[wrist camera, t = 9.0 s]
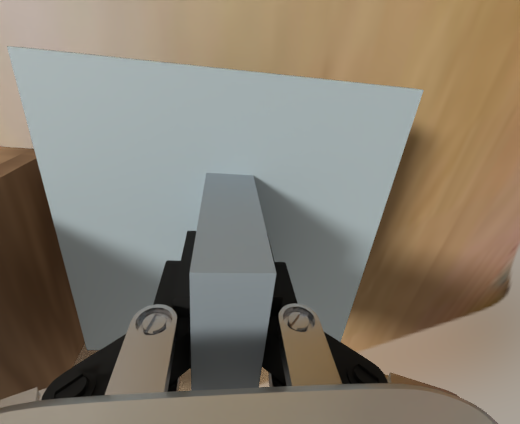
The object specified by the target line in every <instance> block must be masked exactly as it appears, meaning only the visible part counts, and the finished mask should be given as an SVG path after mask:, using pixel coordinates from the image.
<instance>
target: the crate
mask: <svg viewBox="0 0 520 424" xmlns="http://www.w3.org/2000/svg"><path fill="white" fill-rule="evenodd" d="M84 343H85V341H84V337H83V333H82V329H81V326H80V322H79V318H78V314H77V310H76V307H75V303H74V299H73V295H72V291H71V288H70V284H69V280H68V276H67V272H66V269H65V265H64V261H63V257H62V253H61V250H60V246H59V242H58V238H57V234H56V230H55V227H54V223H53V219H52V215H51V211H50V208H49V204H48V200H47V196H46V192H45V189H44V185H43V181H42V177H41V173H40V170H39V166H38V162H37V158H36V154H35V151H34V149H26V148H10V147H0V400H1V399H4V398H7V397H10V396H13V395H16V394H19V393H22V392H25V391H27V390H30V389H33V388H36V387H37V388H38V390H42V389H45V388H47V387H48V386H49V385H50V384H51V383H52V382H53V380H55V379H56V378H57V377H59V376H60V375H61V374H63V373H64V372H66V371H67V370H69V369H71V368H72V367H73V365H74V363H75V361H76V359H77V357H78V355H79V353H80V351H81V349H82V347H83V345H84Z"/></svg>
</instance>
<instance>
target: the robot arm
mask: <svg viewBox="0 0 520 424" xmlns="http://www.w3.org/2000/svg"><path fill="white" fill-rule="evenodd" d="M267 236H268V233H267ZM195 237H196V231H187V234H186V239H185V243H184V248H183V253H182V257H181V261H174V260H167V261H166V263H165V266H164V270H163V273H162V276H161V280H160V283H159V287H158V290H157V293H156V297H155V300H154V303H153V305H150V306H147V307H144V308H143V309H141V310H139V311H138V312H137V313H136V314H135V315H134V316H133V318H132V320H131V322H130V325H129V327H128V330H127V333H126V334H125V335H123V336H122V337H120V338H118V339H117V340H115V341H114V342H112V343H110V344H109V345H107V346H106V347H104V348H102V349H101V350H99V351H98V352H96V353H95V354H93V355H91V356H90V357H88V358H87V359H85V360H83V361H82V362H80V363H79V364H77V365H75V366H74V367H72V368H71V369H69V370H67V371H66V372H64V373H63V374H61V375H60V376H59V377H57V378H56V379H55V380H53V382H52V383H51V384H50V385H49V386H48V387H47V388H45V389H42V390H38V388H37V387H36V388H33V389H30V390H27V391H25V392H22V393H19V394H16V395H13V396H10V397H7V398H4V399H1V400H0V424H498V423H497V422H496V421H495V420H494V419H493V418H492V417H491V416H489V415H488V414H487V413H486V412H485V411H483V410H482V409H480V408H479V407H477V406H476V405H474V404H472V403H470V402H468V401H466V400H464V399H462V398H460V397H459V396H457V395H456V394H454V393H452V392H449V391H447V390H444V389H441V388H437V387H435V386H431V385H428V384H425V383H422V382H418V381H416V380H412V379H409V378H406V377H403V376H400V375H396V374H393V373H390V374H389V376H388V375H385V374H383V372H382V371H381V370H380V369H379V367H377V366H376V365H375V364H373V363H372V362H371V361H369V360H368V359H366V358H364V357H363V356H361V355H360V354H358V353H357V352H355V351H353V350H352V349H350V348H349V347H347V346H346V345H344V344H343V343H341V342H339V341H338V340H336V339H335V338H333V337H332V336H330V335H329V334H327V333H325V332H324V331H323V328H322V326H321V323H320V320H319V318H318V316H317V314H316V313H315V312H314V311H313V310H312V309H311V308H309V307H307V306H305V305H302V304H298V303H297V300H296V296H295V293H294V289H293V286H292V283H291V279H290V276H289V272H288V269H287V266H286V263H285V262H275V261H274V257H273V253H272V257H273V261H274V265H275V269H276V279H275V286H274V292H273V299H272V305H271V311H270V318H269V324H268V331H267V337H266V343H265V350H264V356H263V362H262V367H263V368H264V369H266V370H267V371H268V372H269V376H268V378H269V386H270V387H260V388H238V389H216V390H195V391H178V390H179V383H180V376H181V375H182V374H183V373H185V372H186V371H187V370H188V369H189V368H191V333H190V276H189V272H190V266H191V260H192V255H193V249H194V243H195ZM268 240H269V236H268ZM269 244H270V241H269ZM270 248H271V245H270ZM271 252H272V249H271Z"/></svg>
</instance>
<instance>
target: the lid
mask: <svg viewBox="0 0 520 424" xmlns="http://www.w3.org/2000/svg"><path fill="white" fill-rule="evenodd" d="M7 48H8V52H9V56H10V59H11V63H12V67H13V71H14V75H15V78H16V82H17V86H18V90H19V94H20V97H21V101H22V105H23V109H24V113H25V116H26V120H27V124H28V128H29V132H30V135H31V139H32V143H33V147H34V151H35V154H36V158H37V162H38V166H39V170H40V173H41V177H42V181H43V185H44V189H45V192H46V196H47V200H48V204H49V208H50V211H51V215H52V219H53V223H54V227H55V230H56V234H57V238H58V242H59V246H60V250H61V253H62V257H63V261H64V265H65V269H66V272H67V276H68V280H69V284H70V288H71V291H72V295H73V299H74V303H75V307H76V310H77V314H78V318H79V322H80V326H81V329H82V333H83V337H84V341H85V345H86V348H87V350H101V349H102V348H104V347H106V346H107V345H109V344H110V343H112V342H114V341H115V340H117V339H118V338H120V337H122V336H123V335H125V334H126V333H127V330H128V327H129V325H130V322H131V320H132V318H133V316H134V315H135V314H136V313H137V312H138V311H139V310H141V309H143V308H144V307H147V306H150V305H153V303H154V300H155V297H156V293H157V290H158V287H159V283H160V280H161V276H162V273H163V270H164V266H165V263H166V261H167V260H174V261H181V257H182V253H183V248H184V243H185V239H186V234H187V231H196V237H195V243H194V249H193V255H192V260H191V266H190V272H189V276H190V333H191V391H195V390H216V389H238V388H259V382H260V375H261V369H262V362H263V356H264V350H265V343H266V337H267V331H268V324H269V318H270V311H271V305H272V299H273V292H274V286H275V279H276V269H275V265H274V261H275V262H285V263H286V266H287V269H288V272H289V276H290V279H291V283H292V286H293V289H294V293H295V296H296V300H297V303H298V304H302V305H305V306H307V307H309V308H311V309H312V310H313V311H314V312H315V313H316V314H317V316H318V318H319V320H320V323H321V326H322V328H323V331H324V332H325V333H327V334H329V335H330V336H332V337H333V338H335V339H336V340H338V341H339V342H341V339H342V336H343V332H344V329H345V326H346V323H347V320H348V317H349V314H350V311H351V308H352V305H353V302H354V299H355V296H356V293H357V290H358V287H359V284H360V281H361V278H362V275H363V272H364V269H365V266H366V263H367V260H368V257H369V254H370V251H371V248H372V245H373V242H374V239H375V236H376V232H377V229H378V226H379V223H380V220H381V217H382V214H383V211H384V208H385V205H386V202H387V199H388V196H389V193H390V190H391V187H392V184H393V181H394V178H395V175H396V172H397V169H398V166H399V163H400V160H401V157H402V154H403V151H404V148H405V145H406V142H407V139H408V136H409V132H410V129H411V126H412V123H413V120H414V117H415V114H416V111H417V108H418V105H419V102H420V99H421V96H422V93H423V90H420V89H414V88H405V87H396V86H386V85H377V84H367V83H358V82H348V81H339V80H329V79H320V78H310V77H301V76H291V75H282V74H272V73H263V72H253V71H244V70H234V69H225V68H215V67H206V66H196V65H187V64H177V63H168V62H158V61H149V60H139V59H130V58H120V57H111V56H101V55H92V54H82V53H73V52H63V51H54V50H44V49H35V48H25V47H10V46H7ZM267 233H268V236H269V240H268V236H267ZM269 241H270V244H269ZM270 245H271V248H270ZM271 249H272V252H271ZM272 253H273V257H274V261H273V257H272Z"/></svg>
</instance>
